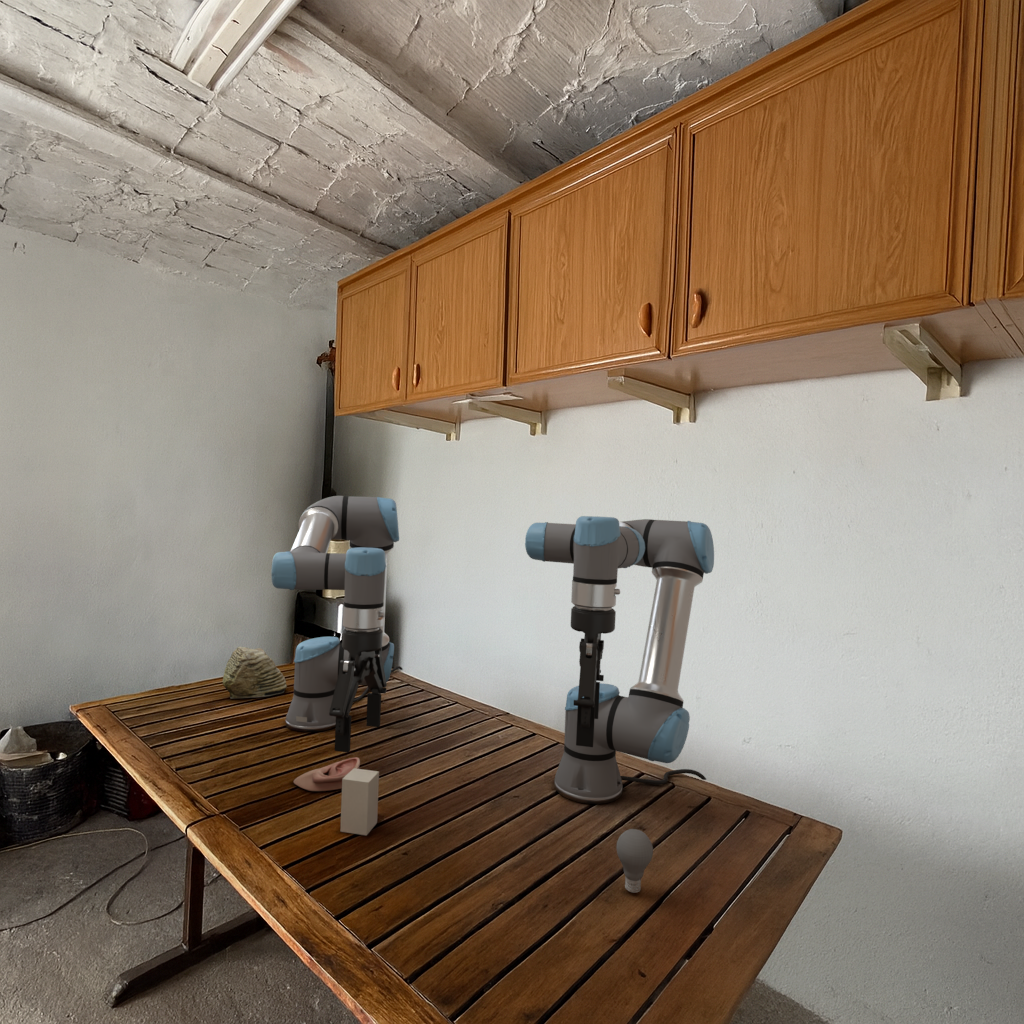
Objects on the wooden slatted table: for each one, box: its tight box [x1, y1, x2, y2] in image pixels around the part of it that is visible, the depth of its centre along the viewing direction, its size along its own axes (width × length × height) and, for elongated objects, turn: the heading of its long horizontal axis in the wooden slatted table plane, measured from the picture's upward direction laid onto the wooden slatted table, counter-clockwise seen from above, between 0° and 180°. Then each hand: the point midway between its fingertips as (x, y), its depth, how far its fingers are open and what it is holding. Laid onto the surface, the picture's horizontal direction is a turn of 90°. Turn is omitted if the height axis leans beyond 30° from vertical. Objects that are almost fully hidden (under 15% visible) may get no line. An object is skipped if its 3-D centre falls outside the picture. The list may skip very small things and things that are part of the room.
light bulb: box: [615, 828, 654, 894], centre depth 106 cm, size 6×6×10 cm
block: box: [339, 768, 380, 836], centre depth 122 cm, size 5×5×10 cm
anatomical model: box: [293, 757, 361, 792], centre depth 141 cm, size 13×4×12 cm
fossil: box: [222, 646, 288, 699], centre depth 198 cm, size 9×18×15 cm, turn 132°
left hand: (358, 738), depth 122 cm, fingers open, 13 cm apart
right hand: (587, 731), depth 108 cm, fingers open, 13 cm apart
